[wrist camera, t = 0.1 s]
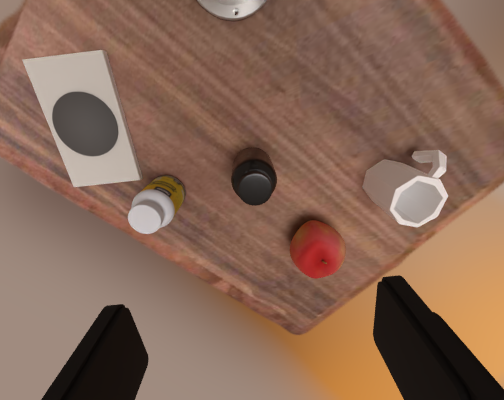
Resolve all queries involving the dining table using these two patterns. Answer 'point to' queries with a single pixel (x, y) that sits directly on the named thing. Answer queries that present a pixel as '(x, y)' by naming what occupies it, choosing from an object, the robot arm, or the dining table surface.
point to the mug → (408, 188)
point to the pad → (85, 123)
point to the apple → (317, 249)
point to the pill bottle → (156, 204)
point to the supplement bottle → (253, 176)
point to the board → (100, 85)
